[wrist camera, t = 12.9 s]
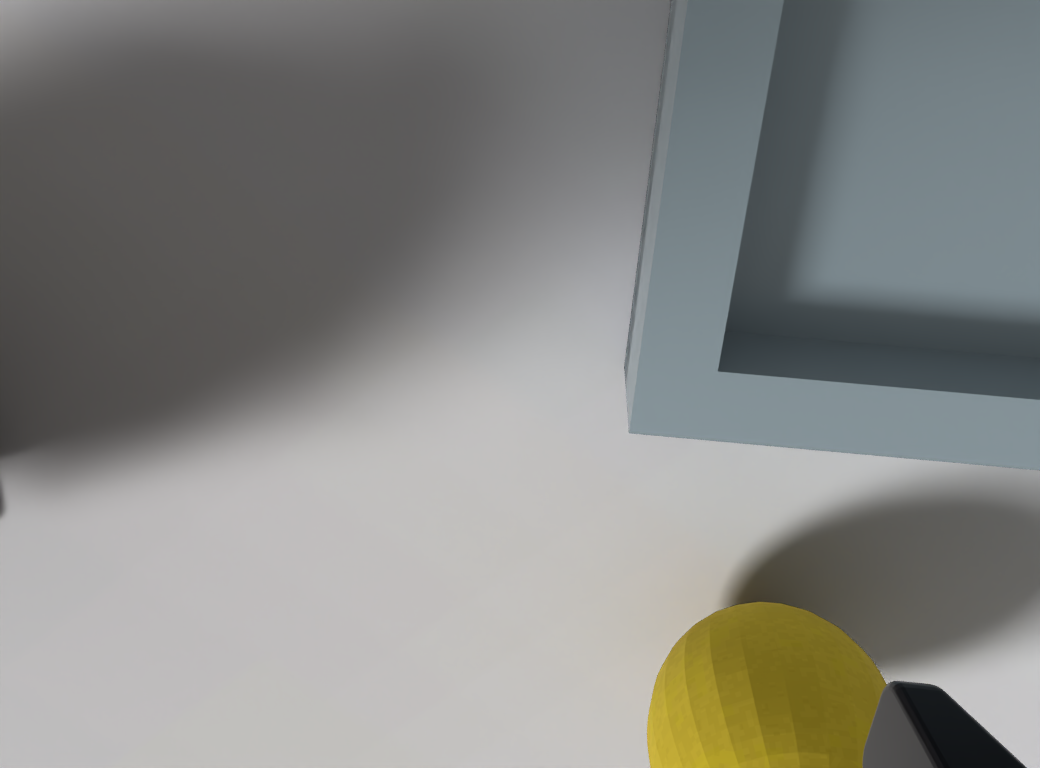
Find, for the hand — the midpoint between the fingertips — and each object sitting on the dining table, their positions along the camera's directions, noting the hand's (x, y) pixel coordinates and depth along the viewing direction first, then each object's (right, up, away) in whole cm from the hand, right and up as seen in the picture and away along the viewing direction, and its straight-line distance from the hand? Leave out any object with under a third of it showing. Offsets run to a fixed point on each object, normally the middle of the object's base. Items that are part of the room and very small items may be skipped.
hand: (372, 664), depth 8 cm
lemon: (+7, -4, +16) cm, 18 cm away
